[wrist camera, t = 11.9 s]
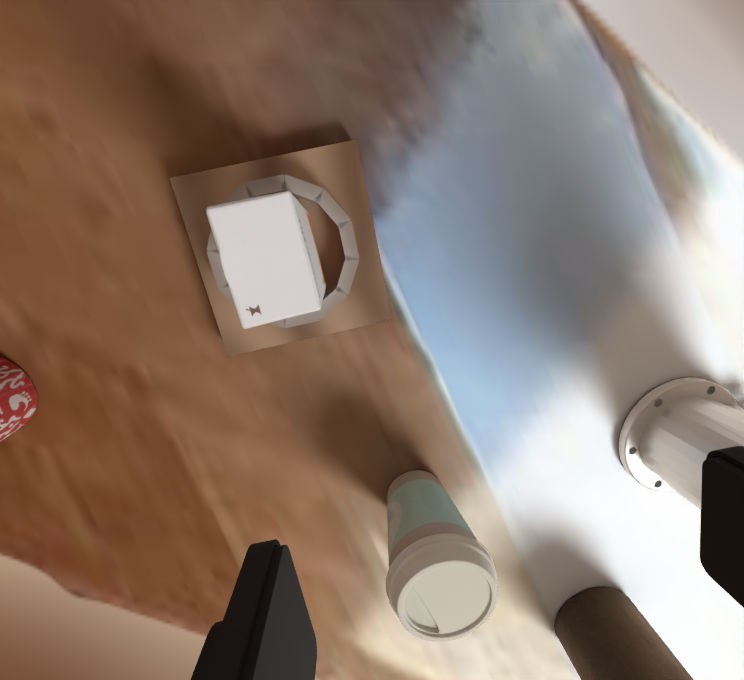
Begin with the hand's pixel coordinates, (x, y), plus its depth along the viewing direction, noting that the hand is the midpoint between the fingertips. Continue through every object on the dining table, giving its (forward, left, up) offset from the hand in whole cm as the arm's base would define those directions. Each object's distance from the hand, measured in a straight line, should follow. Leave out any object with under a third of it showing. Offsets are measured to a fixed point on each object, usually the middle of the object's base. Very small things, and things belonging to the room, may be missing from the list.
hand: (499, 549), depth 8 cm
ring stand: (+6, -7, -26) cm, 28 cm away
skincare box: (+6, -7, -25) cm, 26 cm away
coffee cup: (0, +19, -27) cm, 33 cm away
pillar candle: (-18, +42, -27) cm, 53 cm away
